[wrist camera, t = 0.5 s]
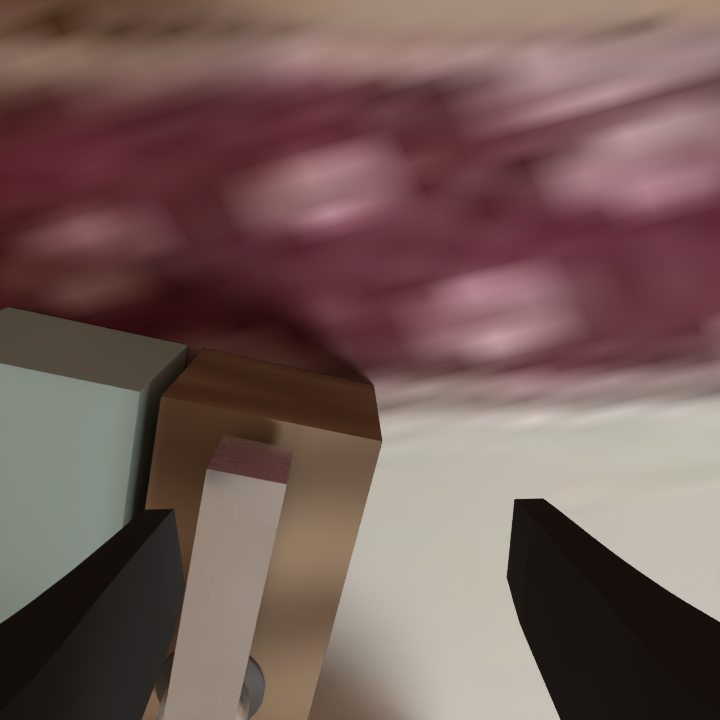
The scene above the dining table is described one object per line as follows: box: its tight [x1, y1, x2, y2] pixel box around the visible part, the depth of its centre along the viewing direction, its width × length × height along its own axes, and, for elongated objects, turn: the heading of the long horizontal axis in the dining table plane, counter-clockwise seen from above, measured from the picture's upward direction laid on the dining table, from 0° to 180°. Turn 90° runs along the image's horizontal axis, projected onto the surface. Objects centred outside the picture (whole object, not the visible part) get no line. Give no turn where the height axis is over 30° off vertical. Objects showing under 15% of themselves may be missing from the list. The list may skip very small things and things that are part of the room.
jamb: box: [142, 349, 382, 720], centre depth 20 cm, size 15×6×5 cm, turn 167°
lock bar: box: [155, 435, 294, 720], centre depth 16 cm, size 11×3×3 cm, turn 167°
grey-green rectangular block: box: [0, 307, 188, 623], centre depth 19 cm, size 15×6×7 cm, turn 167°
